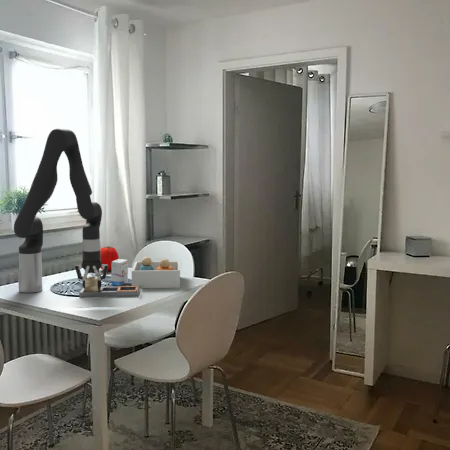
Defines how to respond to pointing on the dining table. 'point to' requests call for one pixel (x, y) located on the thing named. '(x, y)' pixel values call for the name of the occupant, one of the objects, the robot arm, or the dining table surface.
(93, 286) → the beige upright block
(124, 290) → the gray sorting tray
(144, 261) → the wooden peg dolls
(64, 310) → the dining table surface
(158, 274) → the box
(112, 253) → the tomato
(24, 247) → the robot arm
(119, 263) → the ink box
